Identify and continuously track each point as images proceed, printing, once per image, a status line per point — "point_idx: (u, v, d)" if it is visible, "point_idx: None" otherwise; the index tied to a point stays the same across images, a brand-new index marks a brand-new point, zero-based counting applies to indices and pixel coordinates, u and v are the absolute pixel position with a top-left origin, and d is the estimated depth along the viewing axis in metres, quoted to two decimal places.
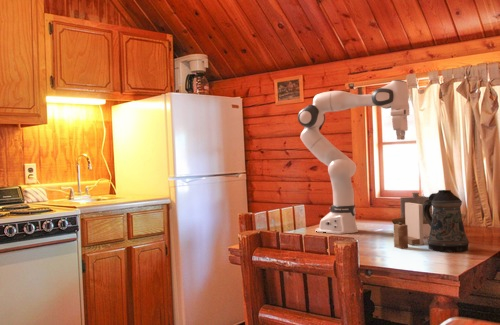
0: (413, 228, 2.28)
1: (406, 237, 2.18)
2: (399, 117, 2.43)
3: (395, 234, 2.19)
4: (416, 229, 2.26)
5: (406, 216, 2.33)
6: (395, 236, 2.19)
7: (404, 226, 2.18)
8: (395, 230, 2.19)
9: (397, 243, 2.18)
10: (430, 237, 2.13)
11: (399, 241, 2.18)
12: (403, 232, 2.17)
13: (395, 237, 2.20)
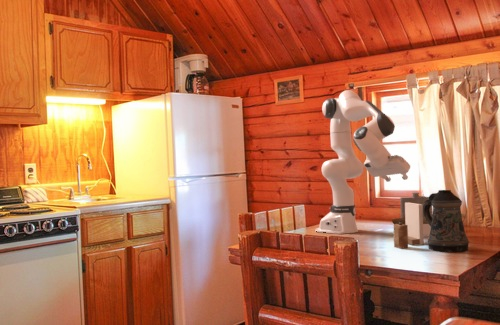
0: (413, 228, 2.28)
1: (406, 237, 2.18)
2: None
3: (395, 234, 2.19)
4: (416, 229, 2.26)
5: (406, 216, 2.33)
6: (395, 236, 2.19)
7: (404, 226, 2.18)
8: (395, 230, 2.19)
9: (397, 243, 2.18)
10: (430, 237, 2.13)
11: (399, 241, 2.18)
12: (403, 232, 2.17)
13: (395, 237, 2.20)
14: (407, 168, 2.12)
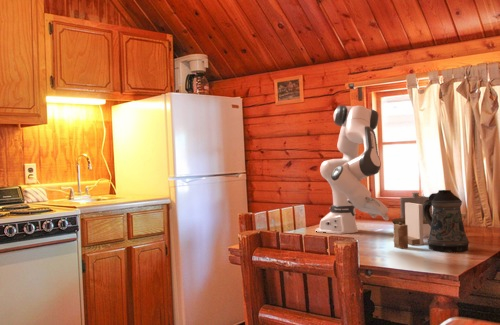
0: (413, 228, 2.28)
1: (406, 237, 2.18)
2: None
3: (395, 234, 2.19)
4: (416, 229, 2.26)
5: (406, 216, 2.33)
6: (395, 236, 2.19)
7: (404, 226, 2.18)
8: (395, 230, 2.19)
9: (397, 243, 2.18)
10: (430, 237, 2.13)
11: (399, 241, 2.18)
12: (403, 232, 2.17)
13: (395, 237, 2.20)
14: (383, 212, 2.05)
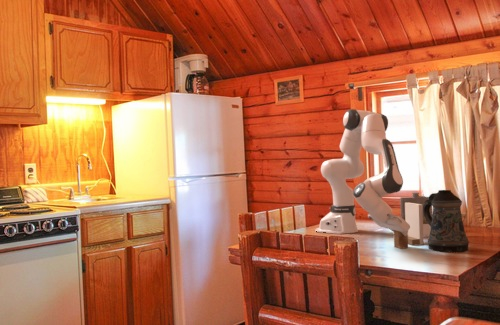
0: (413, 228, 2.28)
1: (406, 237, 2.18)
2: None
3: (395, 234, 2.19)
4: (416, 229, 2.26)
5: (406, 216, 2.33)
6: (395, 236, 2.20)
7: None
8: (395, 230, 2.19)
9: (397, 243, 2.18)
10: (430, 237, 2.13)
11: (399, 240, 2.18)
12: None
13: (395, 237, 2.20)
14: (405, 229, 2.09)
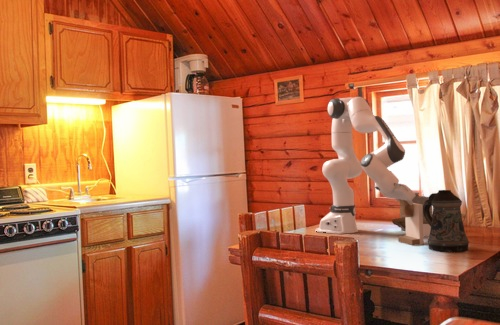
0: (413, 228, 2.28)
1: (411, 206, 2.27)
2: None
3: (401, 203, 2.28)
4: (416, 229, 2.26)
5: None
6: (401, 205, 2.28)
7: None
8: (401, 200, 2.28)
9: (403, 212, 2.27)
10: (430, 237, 2.13)
11: (404, 209, 2.26)
12: None
13: (401, 206, 2.28)
14: (411, 197, 2.17)
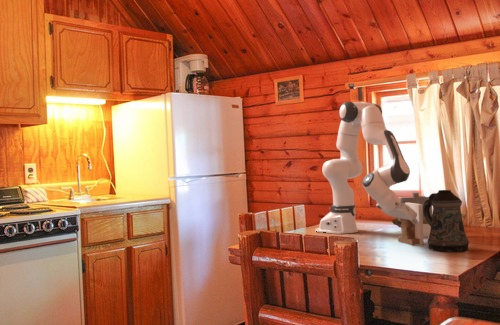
0: None
1: (413, 228, 2.27)
2: None
3: (402, 225, 2.29)
4: (416, 229, 2.26)
5: None
6: (402, 227, 2.29)
7: None
8: (402, 221, 2.28)
9: (404, 233, 2.27)
10: (430, 237, 2.13)
11: (406, 231, 2.27)
12: (410, 223, 2.27)
13: (402, 228, 2.29)
14: (412, 217, 2.18)
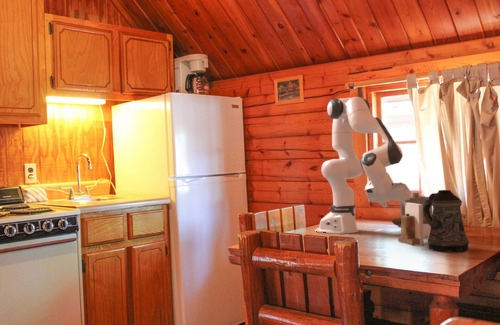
0: None
1: (413, 228, 2.27)
2: None
3: (402, 225, 2.29)
4: (416, 229, 2.26)
5: None
6: (402, 227, 2.29)
7: (411, 217, 2.27)
8: (402, 221, 2.28)
9: (404, 233, 2.27)
10: (430, 237, 2.13)
11: (406, 231, 2.27)
12: (410, 223, 2.27)
13: (402, 228, 2.29)
14: (409, 195, 2.21)
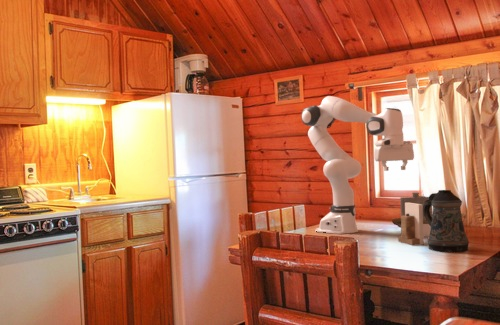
0: None
1: (413, 228, 2.27)
2: (378, 149, 2.36)
3: (402, 225, 2.29)
4: (416, 229, 2.26)
5: None
6: (402, 227, 2.29)
7: (411, 217, 2.27)
8: (402, 221, 2.28)
9: (404, 233, 2.27)
10: (430, 237, 2.13)
11: (406, 231, 2.27)
12: (410, 223, 2.27)
13: (402, 228, 2.29)
14: None
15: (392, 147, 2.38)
